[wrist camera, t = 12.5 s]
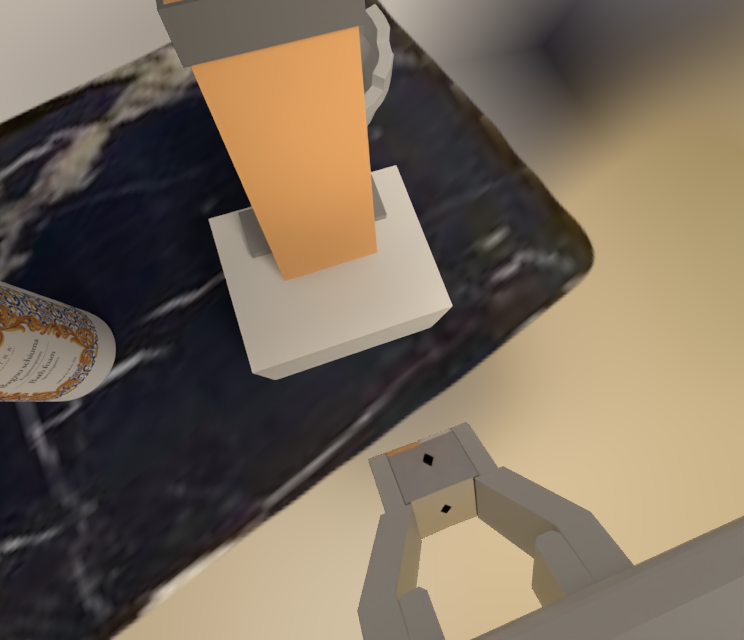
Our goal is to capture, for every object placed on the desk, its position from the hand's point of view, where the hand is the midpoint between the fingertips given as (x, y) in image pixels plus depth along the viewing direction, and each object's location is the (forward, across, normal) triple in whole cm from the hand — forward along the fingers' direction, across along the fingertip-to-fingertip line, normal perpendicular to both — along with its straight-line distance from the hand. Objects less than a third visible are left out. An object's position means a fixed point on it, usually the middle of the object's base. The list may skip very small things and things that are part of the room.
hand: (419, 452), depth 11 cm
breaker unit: (+21, 0, +6) cm, 22 cm away
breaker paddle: (+16, 0, +1) cm, 16 cm away
